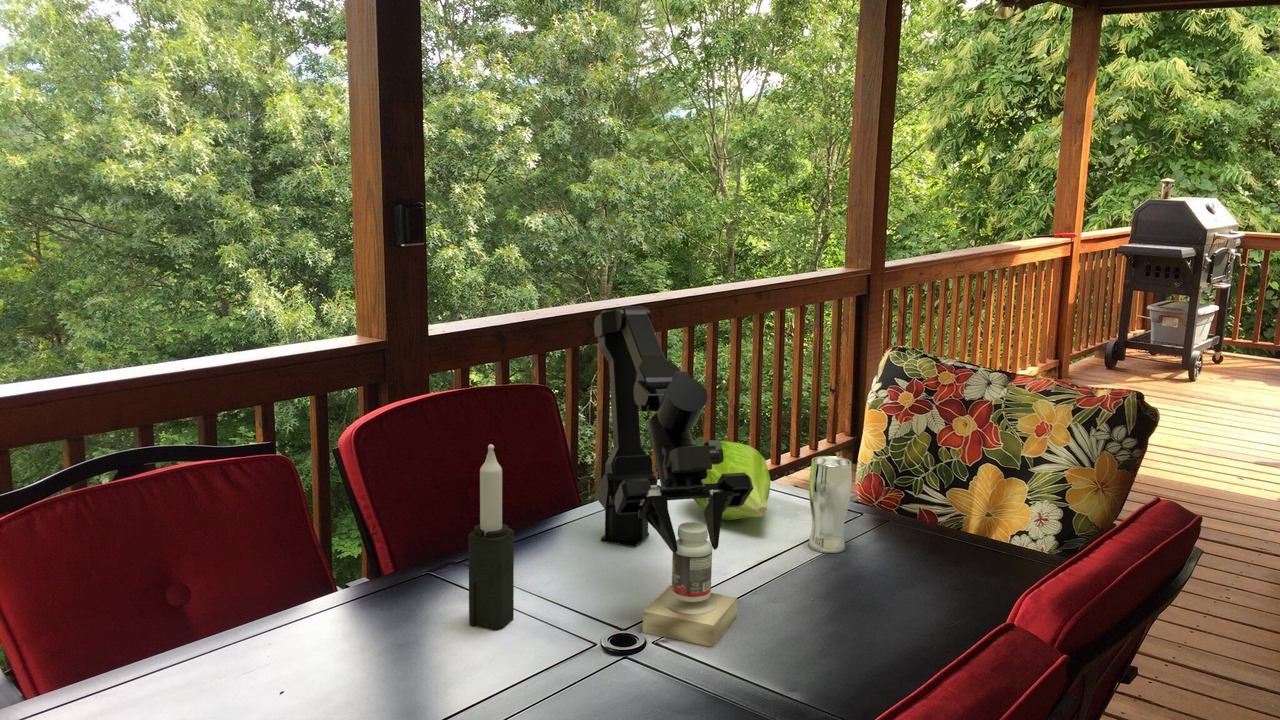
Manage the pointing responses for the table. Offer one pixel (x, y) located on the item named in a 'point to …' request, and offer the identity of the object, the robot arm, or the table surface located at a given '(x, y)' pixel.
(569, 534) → the table surface
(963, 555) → the table surface
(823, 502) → the beer glass
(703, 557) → the pill bottle
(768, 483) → the lettuce
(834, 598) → the table surface
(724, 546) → the table surface
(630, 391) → the robot arm
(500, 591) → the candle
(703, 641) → the pedestal
